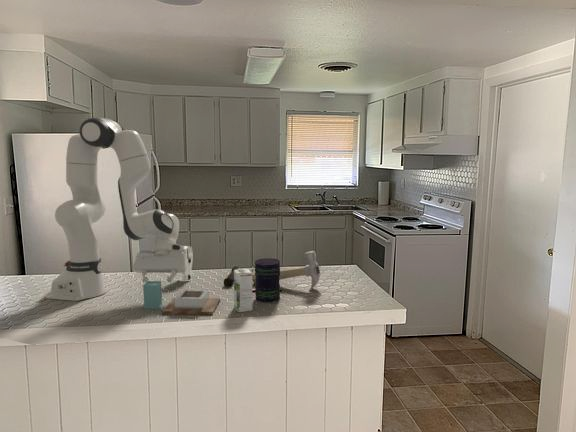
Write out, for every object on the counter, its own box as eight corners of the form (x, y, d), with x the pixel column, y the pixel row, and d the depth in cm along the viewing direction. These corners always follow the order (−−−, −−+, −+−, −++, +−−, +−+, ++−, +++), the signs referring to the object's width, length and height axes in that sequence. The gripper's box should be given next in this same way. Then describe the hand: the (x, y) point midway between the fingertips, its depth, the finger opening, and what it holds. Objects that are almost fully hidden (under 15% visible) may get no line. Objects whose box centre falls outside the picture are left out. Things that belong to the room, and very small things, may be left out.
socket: (175, 309, 158) (174, 298, 157) (182, 299, 168) (182, 289, 167) (202, 309, 157) (202, 298, 157) (208, 300, 167) (208, 289, 167)
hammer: (248, 262, 190) (312, 252, 178) (252, 260, 194) (316, 250, 183) (256, 297, 191) (320, 289, 179) (260, 294, 195) (324, 286, 184)
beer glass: (191, 282, 194) (190, 249, 192) (175, 282, 194) (174, 249, 192) (195, 277, 201) (193, 245, 199) (179, 277, 201) (178, 245, 199)
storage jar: (268, 292, 180) (268, 257, 177) (285, 298, 173) (285, 261, 170) (249, 298, 173) (249, 261, 170) (266, 304, 166) (266, 266, 163)
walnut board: (162, 314, 156) (162, 311, 156) (174, 301, 170) (173, 298, 170) (212, 314, 155) (212, 311, 155) (220, 301, 169) (220, 298, 169)
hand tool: (232, 287, 187) (232, 276, 187) (223, 287, 188) (223, 276, 187) (242, 275, 206) (242, 265, 205) (234, 274, 206) (234, 265, 206)
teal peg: (144, 308, 162) (143, 285, 161) (149, 304, 167) (147, 281, 165) (157, 308, 162) (156, 285, 160) (162, 304, 167) (161, 281, 165)
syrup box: (233, 307, 163) (232, 269, 160) (248, 305, 165) (248, 268, 163) (237, 312, 157) (236, 273, 155) (253, 310, 159) (252, 271, 157)
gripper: (135, 246, 173) (127, 277, 165) (186, 246, 173) (181, 277, 165) (140, 255, 179) (132, 285, 170) (190, 254, 178) (185, 285, 170)
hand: (157, 281), depth 167 cm, fingers open, 8 cm apart
